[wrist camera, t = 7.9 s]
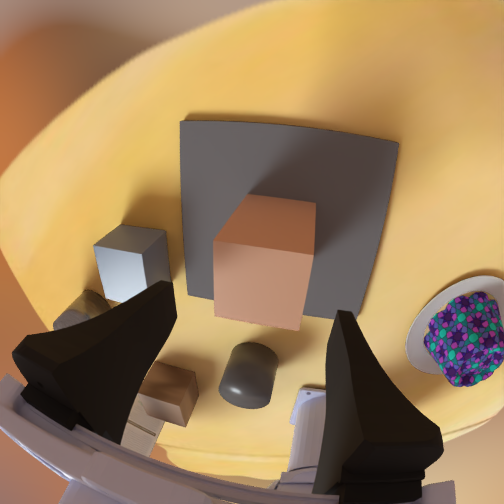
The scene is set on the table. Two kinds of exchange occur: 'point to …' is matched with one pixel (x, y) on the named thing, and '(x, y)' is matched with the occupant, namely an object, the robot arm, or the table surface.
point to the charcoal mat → (289, 187)
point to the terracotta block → (264, 261)
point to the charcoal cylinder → (249, 376)
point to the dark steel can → (82, 310)
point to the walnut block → (169, 393)
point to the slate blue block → (131, 261)
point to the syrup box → (141, 430)
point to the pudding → (461, 332)
